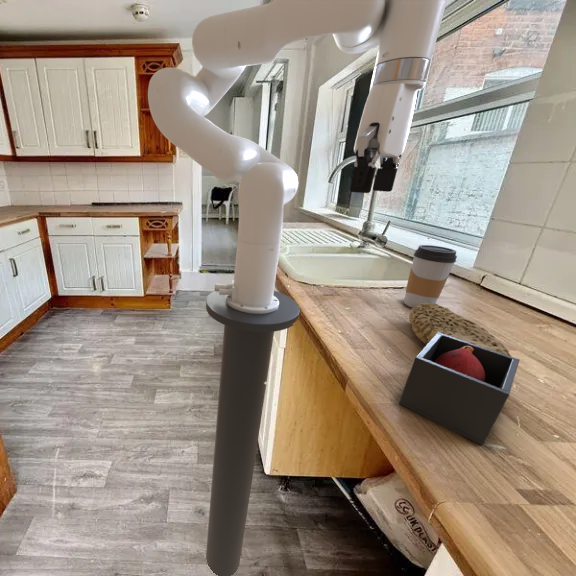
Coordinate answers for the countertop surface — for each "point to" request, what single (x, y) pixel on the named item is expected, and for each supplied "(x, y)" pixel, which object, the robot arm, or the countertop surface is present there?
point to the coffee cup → (428, 274)
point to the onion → (462, 362)
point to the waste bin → (459, 388)
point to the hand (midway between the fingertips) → (371, 191)
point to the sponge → (450, 327)
